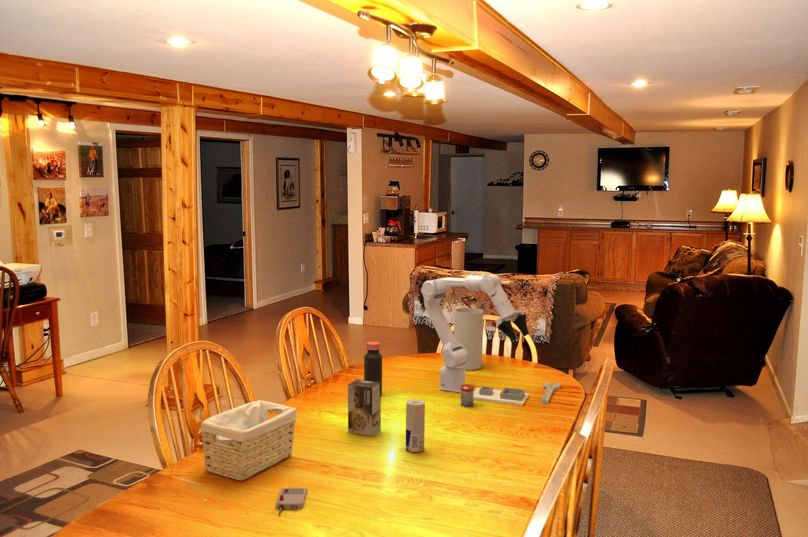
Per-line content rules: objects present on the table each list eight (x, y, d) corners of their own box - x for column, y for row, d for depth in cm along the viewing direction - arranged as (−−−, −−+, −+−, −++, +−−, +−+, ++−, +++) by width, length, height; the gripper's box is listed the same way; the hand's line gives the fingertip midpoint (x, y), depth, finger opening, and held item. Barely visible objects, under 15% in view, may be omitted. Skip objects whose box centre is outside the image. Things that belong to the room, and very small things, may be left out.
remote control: (308, 488, 181) (308, 477, 181) (301, 517, 166) (301, 505, 165) (282, 488, 181) (282, 477, 181) (273, 517, 166) (273, 505, 165)
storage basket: (257, 444, 210) (256, 397, 208) (299, 455, 202) (299, 406, 200) (198, 472, 189) (197, 421, 187) (243, 486, 182) (242, 432, 180)
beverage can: (426, 447, 209) (427, 399, 207) (420, 454, 204) (421, 405, 202) (409, 444, 211) (409, 397, 209) (403, 451, 206) (403, 403, 204)
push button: (458, 406, 247) (458, 387, 247) (462, 402, 252) (462, 383, 251) (471, 408, 246) (472, 389, 245) (475, 403, 250) (475, 385, 250)
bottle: (385, 395, 258) (385, 343, 256) (369, 398, 255) (370, 346, 252) (375, 391, 264) (376, 340, 261) (360, 394, 260) (360, 342, 258)
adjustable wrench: (547, 406, 251) (548, 401, 251) (530, 403, 253) (530, 399, 253) (561, 387, 273) (562, 382, 273) (545, 385, 276) (545, 380, 276)
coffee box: (381, 430, 223) (381, 382, 221) (372, 437, 217) (372, 387, 215) (356, 426, 226) (356, 378, 224) (347, 432, 221) (347, 383, 219)
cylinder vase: (451, 369, 295) (453, 312, 292) (454, 362, 307) (455, 307, 304) (481, 371, 293) (482, 313, 290) (482, 363, 305) (484, 308, 302)
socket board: (469, 399, 256) (469, 391, 255) (476, 390, 267) (477, 382, 267) (522, 405, 249) (523, 397, 249) (528, 396, 260) (528, 388, 260)
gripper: (497, 303, 244) (516, 337, 241) (521, 295, 254) (539, 328, 251) (485, 312, 249) (503, 345, 245) (508, 304, 259) (526, 336, 255)
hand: (520, 337), depth 248 cm, fingers open, 7 cm apart
